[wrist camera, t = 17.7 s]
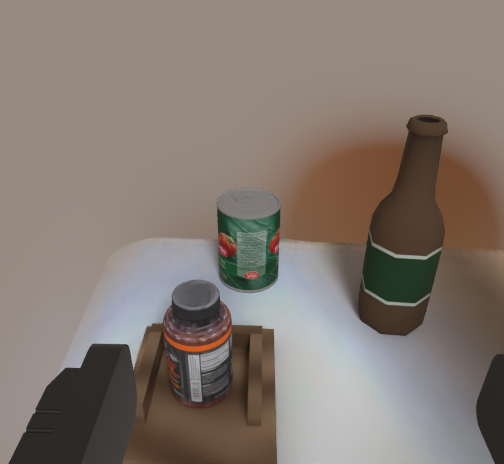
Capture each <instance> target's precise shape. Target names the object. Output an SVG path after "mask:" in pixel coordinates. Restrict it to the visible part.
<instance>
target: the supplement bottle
mask: <svg viewBox="0 0 504 464" xmlns="http://www.w3.org/2000/svg"><path fill="white" fill-rule="evenodd" d="M163 329H164V339H165V347H166V355H167V363H168V370H169V380H170V386H171V390H172V393H173V395H174V396H175V398H176V399H177V400H178V401H179V402H181V403H182V404H184V405H185V406H189V407H193V408H206V407H210V406H213V405H215V404H217V403H219V402H220V401H222V400H223V399H224V398H225V397H226V396H227V395H228V393H229V391H230V389H231V387H232V379H233V365H232V321H231V314H230V312H229V309H228V308H227V306H226V305H225V304H224V303H223V302H221V301H220V296H219V290H218V288H217V287H216V286H215V285H214V284H213V283H211V282H208V281H204V280H191V281H187V282H184V283H182V284H180V285H179V286H177V287H176V288H175V289H174V291H173V293H172V305H171V306H170V307H169V309H168V310H167V312H166V314H165V316H164V320H163Z"/></svg>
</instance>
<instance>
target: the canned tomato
mask: <svg viewBox="0 0 504 464" xmlns="http://www.w3.org/2000/svg"><path fill="white" fill-rule="evenodd" d="M280 207H281V201H280V199H279V198H278V196H276V195H275V194H274V193H271V192H269V191H266V190H262V189H257V188H240V189H234V190H231V191H228V192H226V193H224V194H222V195H221V196H220V197H219V198H218V200H217V208H218V209H217V213H218V214H217V216H218V240H219V242H218V244H219V268H220V273H219V276H220V280H221V282H222V283H223V284H224V285H225V286H227V287H228V288H230V289H232V290H235V291H238V292H244V293H253V292H260V291H263V290H266V289H268V288H270V287H271V286H272V285H274V284H275V282H276V281H277V279H278V261H279V257H278V256H279V235H280V231H279V230H280Z"/></svg>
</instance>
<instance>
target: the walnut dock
mask: <svg viewBox="0 0 504 464" xmlns="http://www.w3.org/2000/svg"><path fill="white" fill-rule="evenodd" d="M232 365H233V379H232V387H231V389H230V391H229V393H228V395H227V396H226V397H225V398H224V399H223V400H222V401H220V402H219V403H217V404H215V405H213V406H210V407H206V408H193V407H189V406H185V405H184V404H182V403H181V402H179V401H178V400H177V399H176V398H175V396H174V395H173V393H172V390H171V386H170V380H169V370H168V363H167V355H166V347H165V339H164V329H163V324H152V327H149V326H147V329H146V332H145V335H144V338H143V342H142V345H141V348H140V351H139V354H138V358H137V361H136V364H135V367H134V371H133V372H134V378H135V383H136V389H137V408H136V415H135V419H134V423H133V427H132V430H131V434H130V438H129V441H128V445H127V449H126V452H125V456H124V460H123V463H122V464H277V448H276V407H275V366H274V329H262V326H242V325H232Z"/></svg>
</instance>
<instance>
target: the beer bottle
mask: <svg viewBox="0 0 504 464" xmlns="http://www.w3.org/2000/svg"><path fill="white" fill-rule="evenodd" d="M406 127H407V128H408V130H409V133H408V137H407V141H406V145H405V149H404V153H403V157H402V161H401V165H400V169H399V173H398V177H397V180H396V183H395V185H394V187H393V190H392V192H391V193H390V194H389V195H388V196H387V197H385V198H384V199H383V200H382V201H381V202H380V203H379V205H378V207H377V208H376V210H375V212H374V213H373V216H372V220H371V224H370V228H369V234H368V240H367V247H366V253H365V260H364V266H363V272H362V279H361V285H360V292H359V309H360V316H361V320H362V322H364V323H365V324H367V325H368V326H370V327H371V328H373V329H374V330H376V331H377V332H379V333H380V334H390V335H404V336H406V335H407V334H409V333H410V332H411V331H413V330H414V329H415V328H417V327H418V326H419V325H421V324H422V322H423V319H424V316H425V313H426V309H427V306H428V302H429V298H430V294H431V290H432V286H433V282H434V278H435V274H436V270H437V266H438V262H439V258H440V254H441V250H442V246H443V240H444V233H445V229H444V223H443V217H442V214H441V212H440V210H439V208H438V206H437V204H436V201H435V186H436V179H437V173H438V166H439V160H440V153H441V147H442V140H443V135H445V134H446V133H448V130H447V123H446V122H445V120H444V119H442V118H440V117H436V116H433V115H418V116H415V117H412V118H410V120H409V122H408V124H407V126H406Z"/></svg>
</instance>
